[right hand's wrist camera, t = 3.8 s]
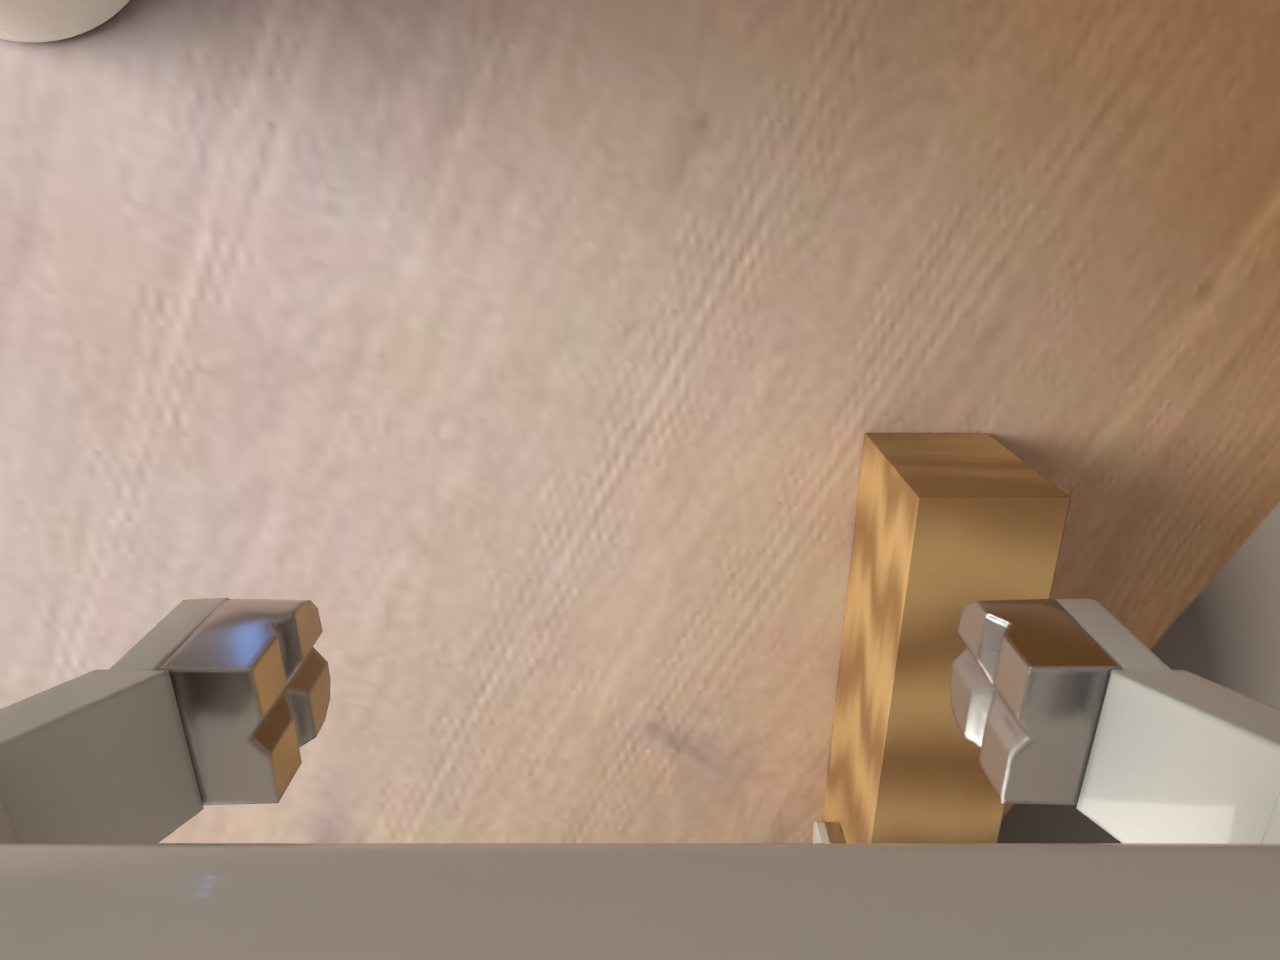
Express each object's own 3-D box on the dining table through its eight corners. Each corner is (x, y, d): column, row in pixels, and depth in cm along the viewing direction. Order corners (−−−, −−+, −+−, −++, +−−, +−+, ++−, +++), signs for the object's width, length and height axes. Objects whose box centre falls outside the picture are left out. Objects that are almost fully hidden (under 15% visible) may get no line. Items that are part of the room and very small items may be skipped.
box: (864, 432, 41) (918, 497, 33) (987, 433, 41) (1071, 497, 33) (821, 828, 50) (854, 952, 42) (921, 828, 50) (973, 953, 42)
